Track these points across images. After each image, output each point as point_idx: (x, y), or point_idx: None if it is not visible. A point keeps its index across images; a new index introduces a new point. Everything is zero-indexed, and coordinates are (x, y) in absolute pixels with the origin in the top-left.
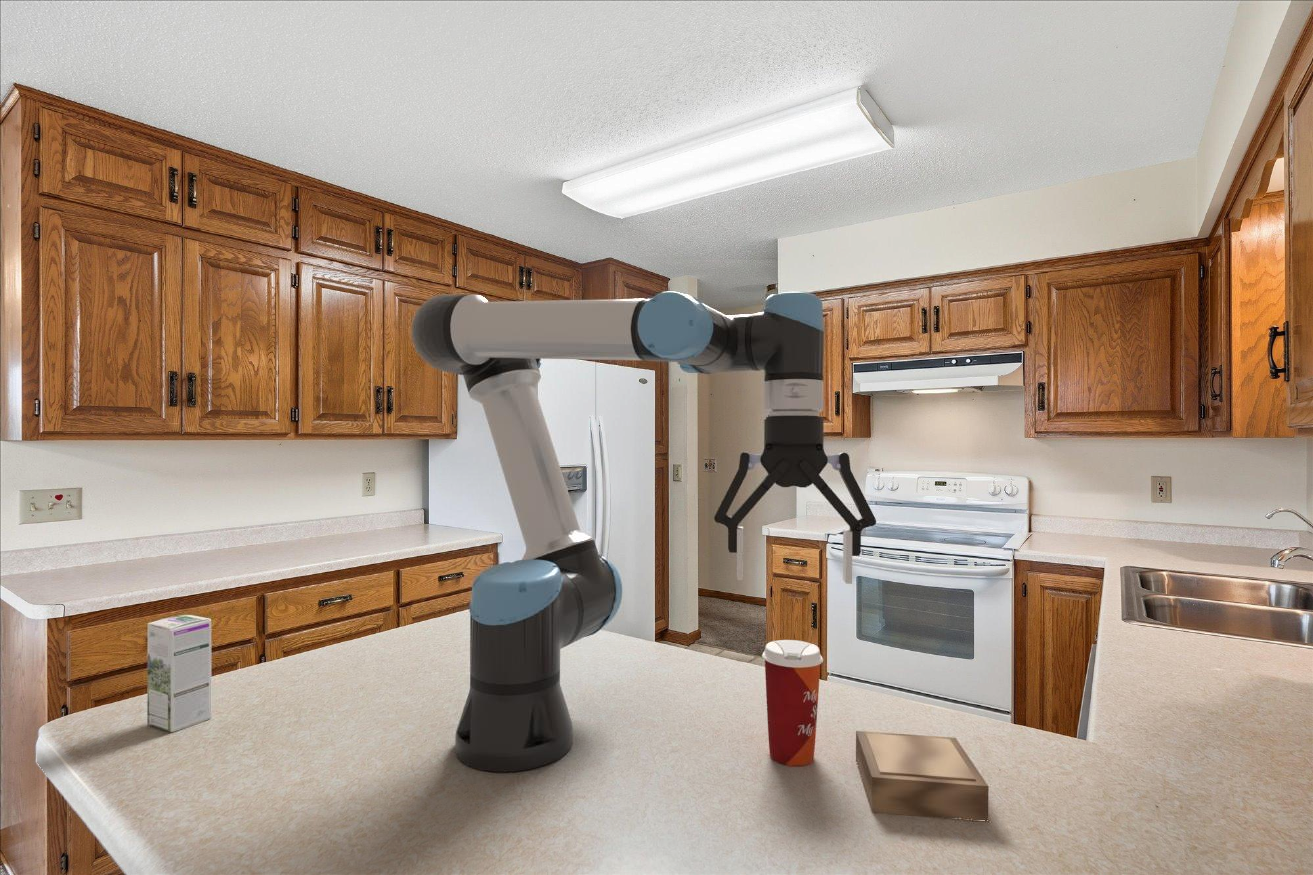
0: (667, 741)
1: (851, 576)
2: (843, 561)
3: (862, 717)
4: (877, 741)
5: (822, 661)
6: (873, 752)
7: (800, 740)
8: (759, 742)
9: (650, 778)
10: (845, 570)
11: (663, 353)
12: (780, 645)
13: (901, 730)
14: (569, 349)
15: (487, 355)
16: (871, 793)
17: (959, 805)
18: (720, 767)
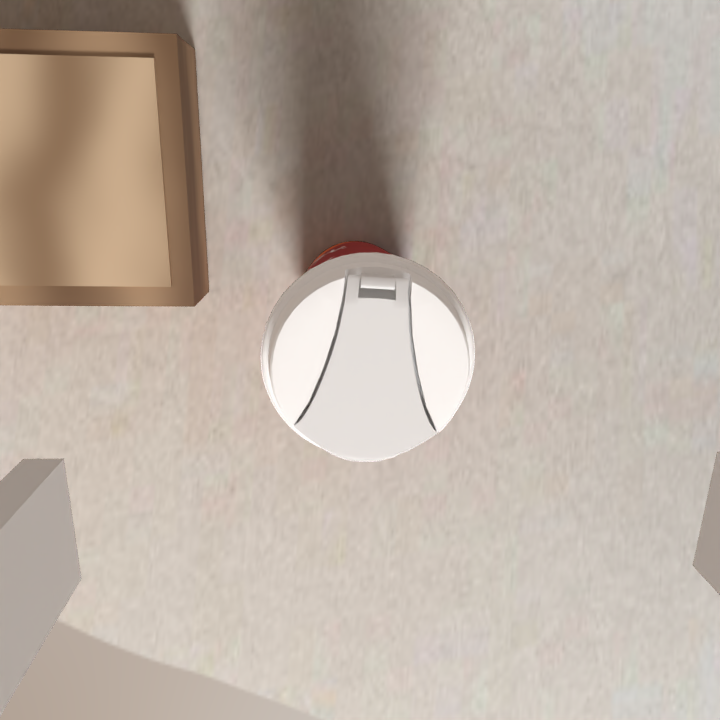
0: (634, 321)
1: (3, 484)
2: (24, 652)
3: (173, 518)
4: (144, 240)
5: (264, 330)
6: (160, 169)
7: (339, 246)
8: None
9: (677, 133)
10: (29, 524)
11: None
12: (414, 387)
13: (88, 464)
14: None
15: None
16: (186, 50)
17: None
18: (518, 211)
